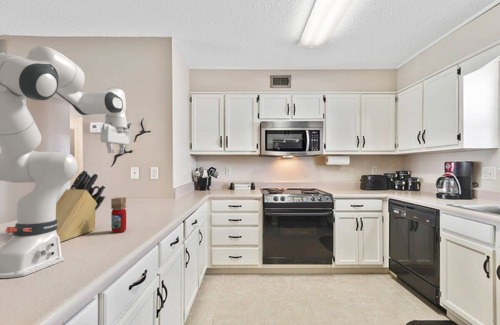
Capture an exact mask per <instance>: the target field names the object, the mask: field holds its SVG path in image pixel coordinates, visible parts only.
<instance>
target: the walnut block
mask: <svg viewBox="0 0 500 325" xmlns="http://www.w3.org/2000/svg"><path fill="white" fill-rule="evenodd" d="M110 203H111V204H110V205H111V208H110V210H111V209H112V210H113V209H123V208H125V209H126V208H127V197H113V198H111V202H110Z"/></svg>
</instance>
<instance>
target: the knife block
mask: <svg viewBox="0 0 500 325" xmlns="http://www.w3.org/2000/svg"><path fill="white" fill-rule="evenodd" d="M98 176H99V175H98V174H96V173H94V174H93V175H92V176H91V175H90V174H88V171H87V170H82V172H80V173H79V174H78V176H77V177H76V178H75V179H74V181H73V183H72V184H71V186H70V188H69V189H65V190H64V192H63V193H62V195H60V197H59V198H58V199H57V203H56V219H57V223H58V225H57V226H58V228H57V229H56V231H57V234H58V236H59V239H60V243H62V242H64V241H67V240H70V239H73V238H76V237H79V236H81V235H83V234H87V233H90V232H93V231H96V211H97V210H98V209H99V208H100V207H101V205H102V203H103V201H104V200H106V196H102V194H103V192H104V190H105V189H106V186H104V185H102V186H100V187H99V186H97V185H95V186H94V187H93V185H94V184H95V182H96V181H97V179H98ZM95 189H97V191H96V192H95ZM94 192H95V193H94Z"/></svg>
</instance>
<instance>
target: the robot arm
mask: <svg viewBox="0 0 500 325" xmlns="http://www.w3.org/2000/svg"><path fill="white" fill-rule="evenodd" d="M85 77H86V76H85V72H84V71H83V70H82V67H80V66H79V65H78V64H76V63H75V62H74V61H73V60H71V58H70V59H69V57H67V56H66V55H64V54H62V53H61V52H60V51H58V50H55V49H54V48H52V47H49V46H46V45H39V46H35V47H33V48H32V49H30V51H29V52H28V53H27V55H26V57H22V56H21V55H20V56H19V55H16V54H11V53H7V52H4V51H0V181H3V182H10V183H16V184H17V183H20V184H21V183H23V184H24V183H34V188H33V190H32V191H31V192H28V193H26V194H25V195H23V196H21V197H20V198H19V200H18V201H17V204H16V213H17V214H16V216H17V217H16V220H17V222H16V223H15V225H14V226H7V227H6V228H5V230H4V231H5V232H6V234H12V236H11V237H10V238H9V239H8V240H7V241H6V242H5V244H3V246H2V247H0V279H8V278H9V279H10V278H17V277H24V276H27V275H29V274H33V273H35V272H38V271H40V270H43V269H45V268H47V267H50V266H53V265H56V264H58V263H61V262H63V261H64V260H65V258H64V256H62V249H61V242H60V239H59V236H58V234H57V231H56V229H57V228H58V226H57V225H58V223H57V219H56V203H57V201H58V197H59V194H60V192H61V190H62V188H63V187H64V186H65V185H66V184H67V183H68V182H69V181H71V180H72V179H74V177H75V176H76V174H77V173H78V170H79V166H78V161H77V159H76V158H75V156H74V155H73V154H71V153H66V152H60V151H35V150H36V149H37V148H38V147H39V146H40V145H41V142H42V134H41V132H40V129H39V127H38V126H37V124H36V122H35V120H34V118H33V116H32V114H31V112H30V110H29V109H28V106H27V98H28V99H30V100H34V101H47V100H49V99H51V98H52V97H54V95H55V94H57V95H58V96H60V98H62V99H63V100H65V101H66V102H67V103H68V104H70V105H71V106H72V107H73V109H74V110H75V111H76V112H77V113H78V114H80V115H81V116H88V115H105V117H104V118H105V119H104V122H103V123H102V126H101V129H100V138H99V139H100V142H101V143H105V146H106V149H107V153H108V154H113V153H114V149H113V145H119V147H118V148H119V150H118V154H120V155H124V153H125V152H124V150H125V149H126V148H125V147H126V146H127V145H130V143H131V131H130V130H132V128H131V127H132V126H131V124H130V123H129V122H128V121H127V116H126V111H127V101H126V100H127V99H126V94H125V91H124V90H122V89H120V88H119V87H108V88H106V90H103V91H81V90H82V88H83V87H84V84H85V81H86V79H85Z"/></svg>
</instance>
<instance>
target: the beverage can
mask: <svg viewBox="0 0 500 325" xmlns="http://www.w3.org/2000/svg"><path fill="white" fill-rule="evenodd" d="M110 214H111V221H110V222H111V223H110V224H111V232H112V233H114V234H120V233H125V231H127V209H126V208H123V209H112V210H111V213H110Z"/></svg>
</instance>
